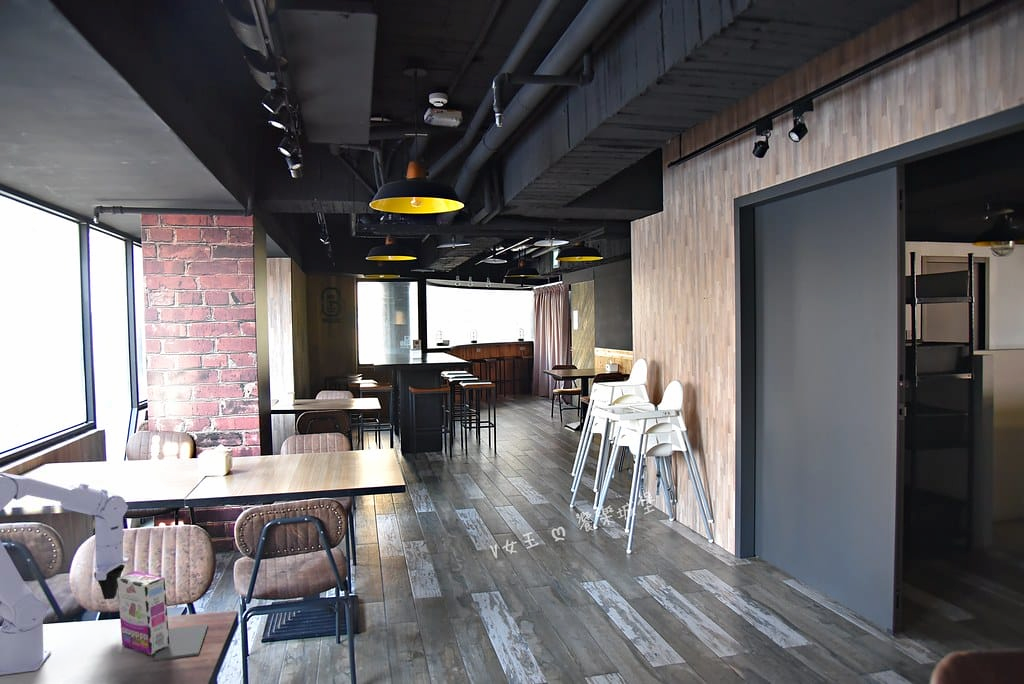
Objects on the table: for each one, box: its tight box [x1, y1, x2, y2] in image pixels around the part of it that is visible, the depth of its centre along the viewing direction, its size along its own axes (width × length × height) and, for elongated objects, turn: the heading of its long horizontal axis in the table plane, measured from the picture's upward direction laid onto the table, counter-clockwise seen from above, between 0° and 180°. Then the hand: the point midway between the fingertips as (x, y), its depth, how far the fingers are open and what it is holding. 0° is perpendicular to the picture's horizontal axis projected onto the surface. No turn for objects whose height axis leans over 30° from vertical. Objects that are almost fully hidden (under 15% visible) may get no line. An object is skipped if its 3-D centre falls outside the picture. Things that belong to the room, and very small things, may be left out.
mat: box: [153, 624, 209, 661], centre depth 154 cm, size 9×14×1 cm, turn 17°
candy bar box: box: [117, 570, 170, 656], centre depth 151 cm, size 11×5×16 cm, turn 62°
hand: (110, 597), depth 159 cm, fingers closed
